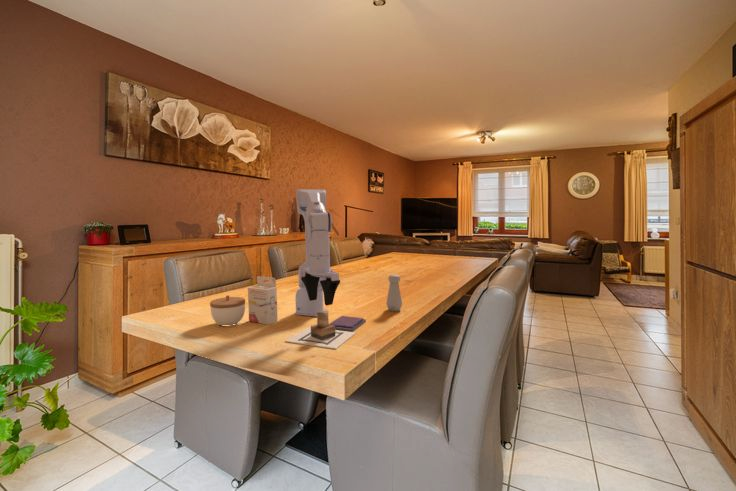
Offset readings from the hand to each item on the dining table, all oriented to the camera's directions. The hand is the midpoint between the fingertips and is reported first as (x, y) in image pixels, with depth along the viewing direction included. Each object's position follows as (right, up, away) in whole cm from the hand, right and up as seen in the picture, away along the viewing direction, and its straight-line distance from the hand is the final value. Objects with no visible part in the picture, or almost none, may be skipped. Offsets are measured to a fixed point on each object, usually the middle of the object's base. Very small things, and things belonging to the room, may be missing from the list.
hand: (320, 302), depth 100 cm
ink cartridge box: (-22, -9, +17) cm, 29 cm away
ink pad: (+7, -9, +12) cm, 17 cm away
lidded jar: (-32, -10, +15) cm, 37 cm away
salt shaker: (+23, -8, +29) cm, 38 cm away
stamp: (+1, -10, +1) cm, 10 cm away
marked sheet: (0, -10, +1) cm, 10 cm away
